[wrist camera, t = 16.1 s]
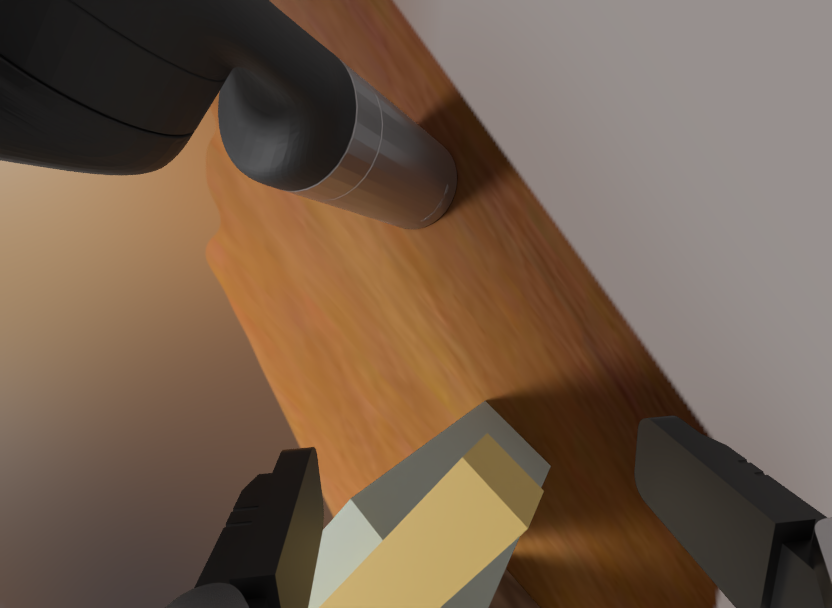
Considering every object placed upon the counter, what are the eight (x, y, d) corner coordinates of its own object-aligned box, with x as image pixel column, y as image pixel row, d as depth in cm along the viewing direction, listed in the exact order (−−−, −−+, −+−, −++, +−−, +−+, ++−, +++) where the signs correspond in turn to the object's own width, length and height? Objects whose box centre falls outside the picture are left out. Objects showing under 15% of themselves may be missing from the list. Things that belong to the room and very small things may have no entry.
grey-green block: (420, 470, 43) (250, 614, 24) (484, 400, 40) (350, 498, 21) (477, 535, 41) (338, 758, 21) (550, 465, 38) (469, 650, 18)
